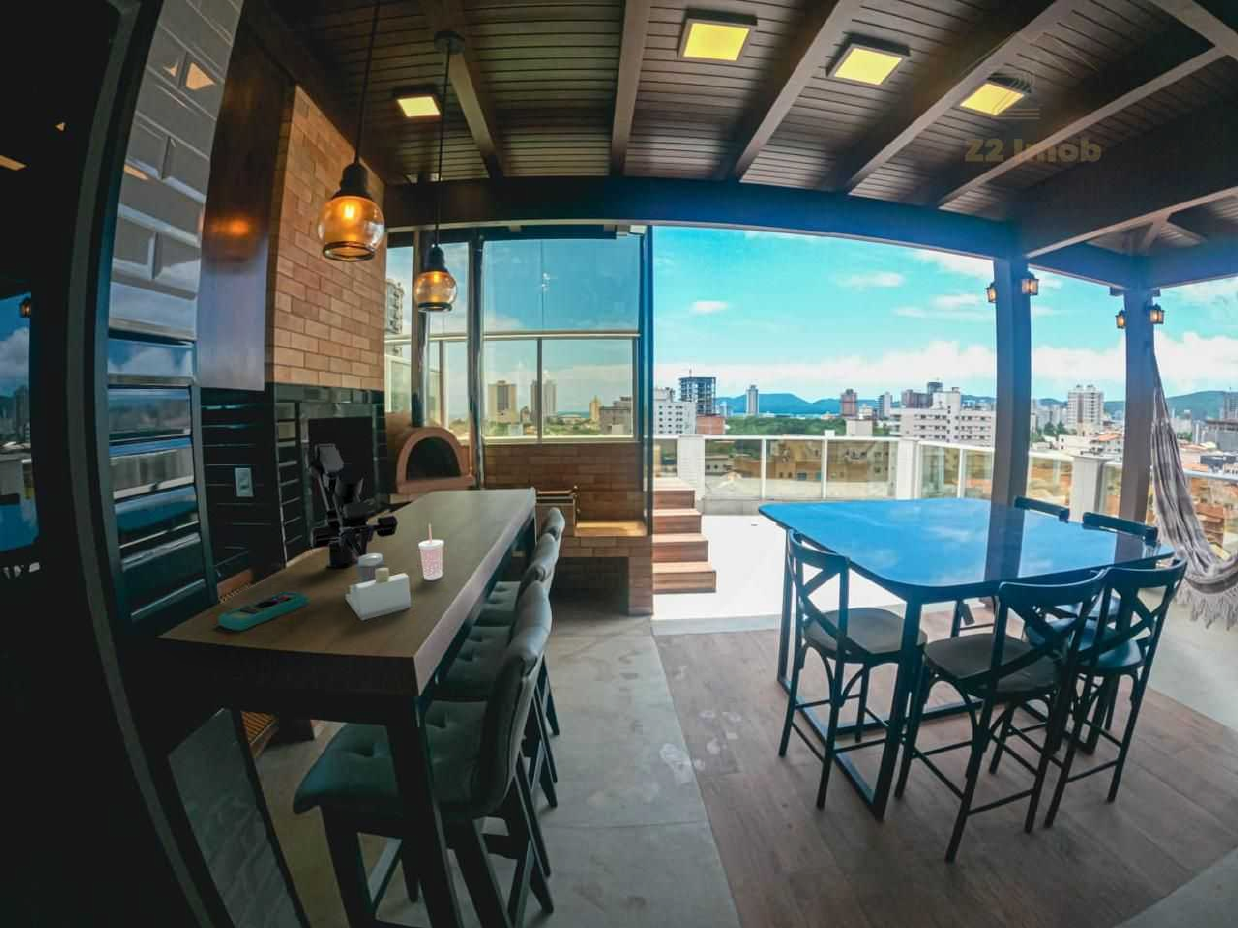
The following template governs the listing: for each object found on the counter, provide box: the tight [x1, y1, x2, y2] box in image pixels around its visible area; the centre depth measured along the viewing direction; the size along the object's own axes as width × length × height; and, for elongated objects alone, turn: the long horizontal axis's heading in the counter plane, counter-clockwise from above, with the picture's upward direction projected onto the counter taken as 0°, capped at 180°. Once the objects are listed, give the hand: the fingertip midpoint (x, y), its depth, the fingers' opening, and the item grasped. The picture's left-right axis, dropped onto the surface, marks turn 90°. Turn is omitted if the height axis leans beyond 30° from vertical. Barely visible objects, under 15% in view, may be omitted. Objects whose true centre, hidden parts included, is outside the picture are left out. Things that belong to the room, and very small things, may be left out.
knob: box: [355, 552, 387, 584], centre depth 113 cm, size 5×5×9 cm
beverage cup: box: [418, 523, 444, 581], centre depth 127 cm, size 6×6×14 cm
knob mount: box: [345, 567, 412, 621], centre depth 111 cm, size 14×10×9 cm
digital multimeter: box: [217, 590, 308, 632], centre depth 106 cm, size 7×15×3 cm, turn 158°
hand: (363, 560), depth 118 cm, fingers closed
